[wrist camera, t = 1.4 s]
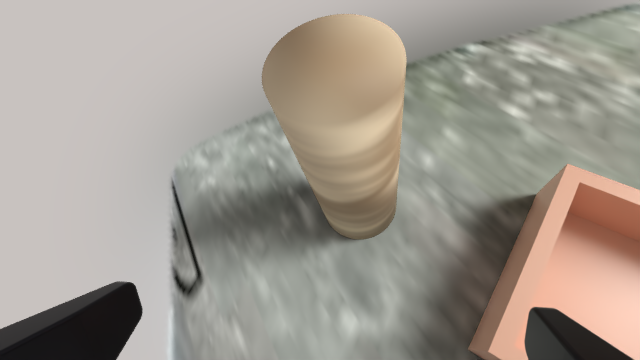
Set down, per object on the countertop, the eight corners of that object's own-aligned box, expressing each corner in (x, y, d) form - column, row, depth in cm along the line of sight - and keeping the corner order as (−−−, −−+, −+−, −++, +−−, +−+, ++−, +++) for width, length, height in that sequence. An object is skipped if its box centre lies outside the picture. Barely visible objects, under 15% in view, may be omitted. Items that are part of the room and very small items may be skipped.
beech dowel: (365, 254, 21) (339, 151, 9) (310, 210, 23) (234, 81, 12) (410, 198, 22) (437, 44, 11) (354, 160, 24) (325, -2, 13)
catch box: (718, 507, 14) (834, 566, 10) (467, 349, 18) (488, 351, 14) (758, 285, 17) (858, 270, 13) (536, 193, 21) (567, 163, 17)
